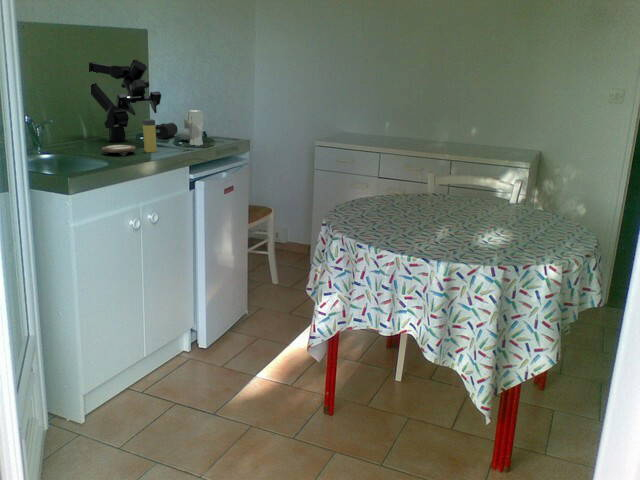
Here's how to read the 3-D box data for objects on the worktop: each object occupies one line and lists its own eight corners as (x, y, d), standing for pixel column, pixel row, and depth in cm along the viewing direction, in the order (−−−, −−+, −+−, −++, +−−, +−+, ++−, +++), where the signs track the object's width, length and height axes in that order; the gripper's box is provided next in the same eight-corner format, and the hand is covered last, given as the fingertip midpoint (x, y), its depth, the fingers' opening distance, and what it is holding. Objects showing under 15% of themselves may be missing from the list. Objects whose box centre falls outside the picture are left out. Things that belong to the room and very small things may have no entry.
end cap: (168, 140, 298) (167, 125, 296) (154, 139, 300) (153, 124, 298) (178, 137, 307) (177, 122, 305) (164, 136, 309) (164, 122, 307)
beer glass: (189, 143, 288) (187, 109, 284) (204, 143, 289) (203, 110, 284) (187, 146, 282) (185, 111, 277) (203, 146, 282) (202, 111, 278)
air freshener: (188, 143, 290) (187, 120, 287) (176, 141, 295) (175, 119, 292) (206, 140, 298) (205, 118, 295) (194, 138, 303) (193, 117, 300)
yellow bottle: (144, 151, 267) (142, 119, 264) (154, 150, 269) (152, 119, 266) (147, 152, 264) (145, 120, 260) (156, 151, 266) (155, 120, 262)
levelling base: (95, 154, 257) (94, 147, 256) (117, 150, 268) (117, 143, 267) (120, 157, 252) (120, 150, 251) (142, 152, 263) (142, 146, 262)
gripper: (113, 74, 265) (125, 101, 259) (156, 72, 275) (169, 97, 269) (110, 94, 274) (122, 121, 267) (152, 91, 283) (165, 116, 277)
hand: (145, 113), depth 270 cm, fingers open, 9 cm apart
